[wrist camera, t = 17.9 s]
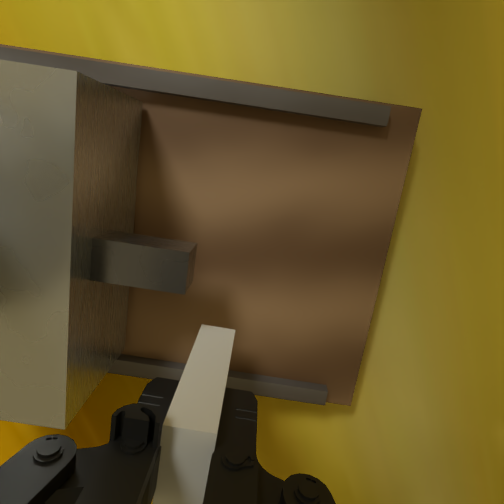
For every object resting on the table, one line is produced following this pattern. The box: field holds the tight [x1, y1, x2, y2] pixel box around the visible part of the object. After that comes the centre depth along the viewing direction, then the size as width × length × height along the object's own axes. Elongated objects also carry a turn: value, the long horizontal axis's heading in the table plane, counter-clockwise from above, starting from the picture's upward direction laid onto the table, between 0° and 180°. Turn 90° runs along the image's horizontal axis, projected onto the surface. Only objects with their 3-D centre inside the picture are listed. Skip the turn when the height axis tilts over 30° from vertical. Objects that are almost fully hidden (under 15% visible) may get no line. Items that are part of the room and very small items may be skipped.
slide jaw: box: [0, 59, 197, 430], centre depth 15 cm, size 12×6×6 cm, turn 172°
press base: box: [0, 44, 422, 406], centre depth 16 cm, size 15×28×8 cm, turn 82°
